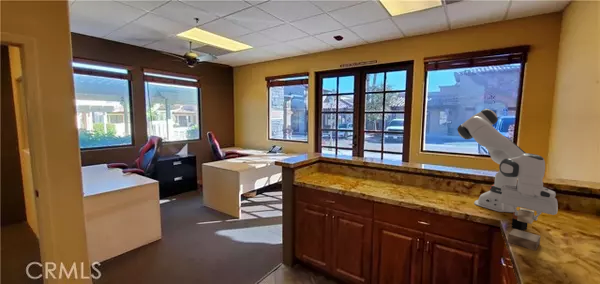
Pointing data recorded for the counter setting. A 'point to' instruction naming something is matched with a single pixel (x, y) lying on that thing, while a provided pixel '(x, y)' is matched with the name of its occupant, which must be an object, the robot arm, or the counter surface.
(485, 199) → the robot arm
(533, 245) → the walnut block
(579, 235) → the counter surface
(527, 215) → the maple cube
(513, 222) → the battery
